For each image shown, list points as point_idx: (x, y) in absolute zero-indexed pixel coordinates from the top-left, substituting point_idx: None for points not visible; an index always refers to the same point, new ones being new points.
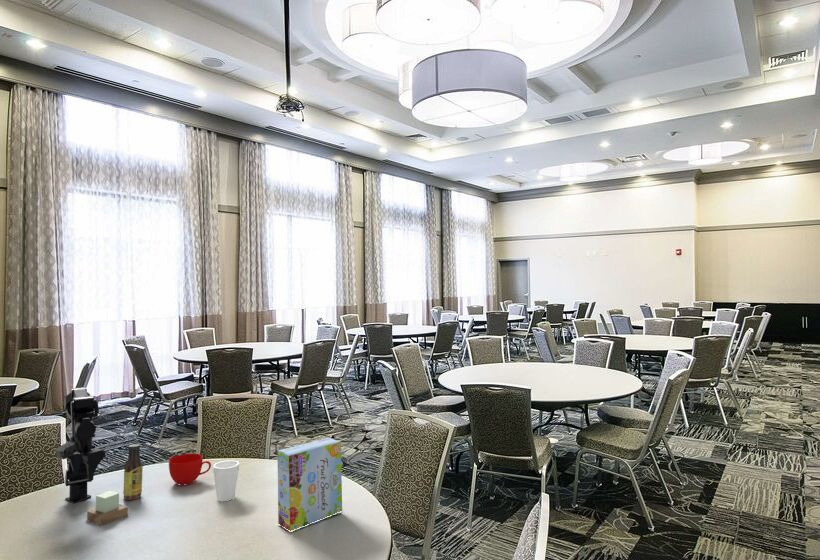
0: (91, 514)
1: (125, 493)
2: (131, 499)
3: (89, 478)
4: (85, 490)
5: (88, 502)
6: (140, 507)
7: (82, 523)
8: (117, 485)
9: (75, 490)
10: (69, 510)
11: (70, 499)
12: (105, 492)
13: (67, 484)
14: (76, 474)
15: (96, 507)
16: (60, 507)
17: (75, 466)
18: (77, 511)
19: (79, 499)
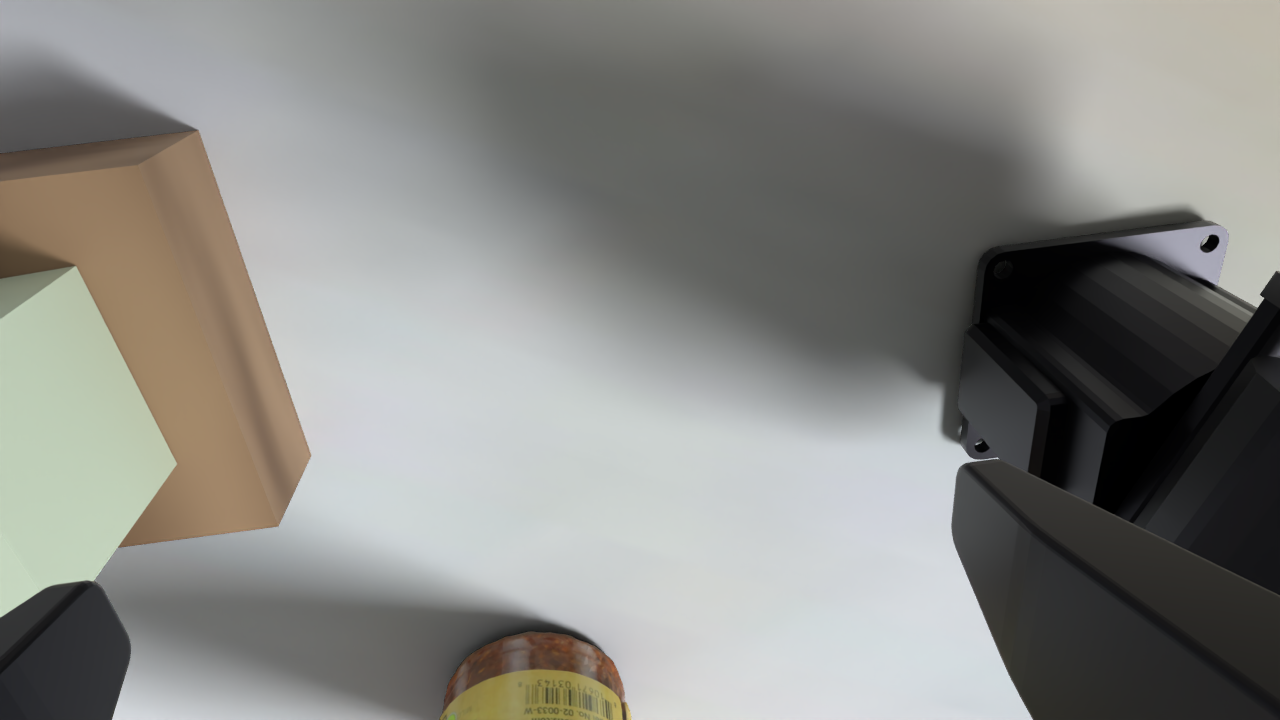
0: (14, 173)
1: (505, 694)
2: (459, 669)
3: (78, 599)
4: (1007, 447)
5: (838, 372)
6: (167, 650)
7: (97, 32)
8: (1023, 706)
9: (1110, 352)
10: (789, 112)
11: (1105, 255)
12: (8, 553)
13: (1276, 303)
14: (1242, 524)
15: (25, 287)
16: (1021, 74)
17: (1113, 690)
18: (651, 169)
19: (974, 325)
